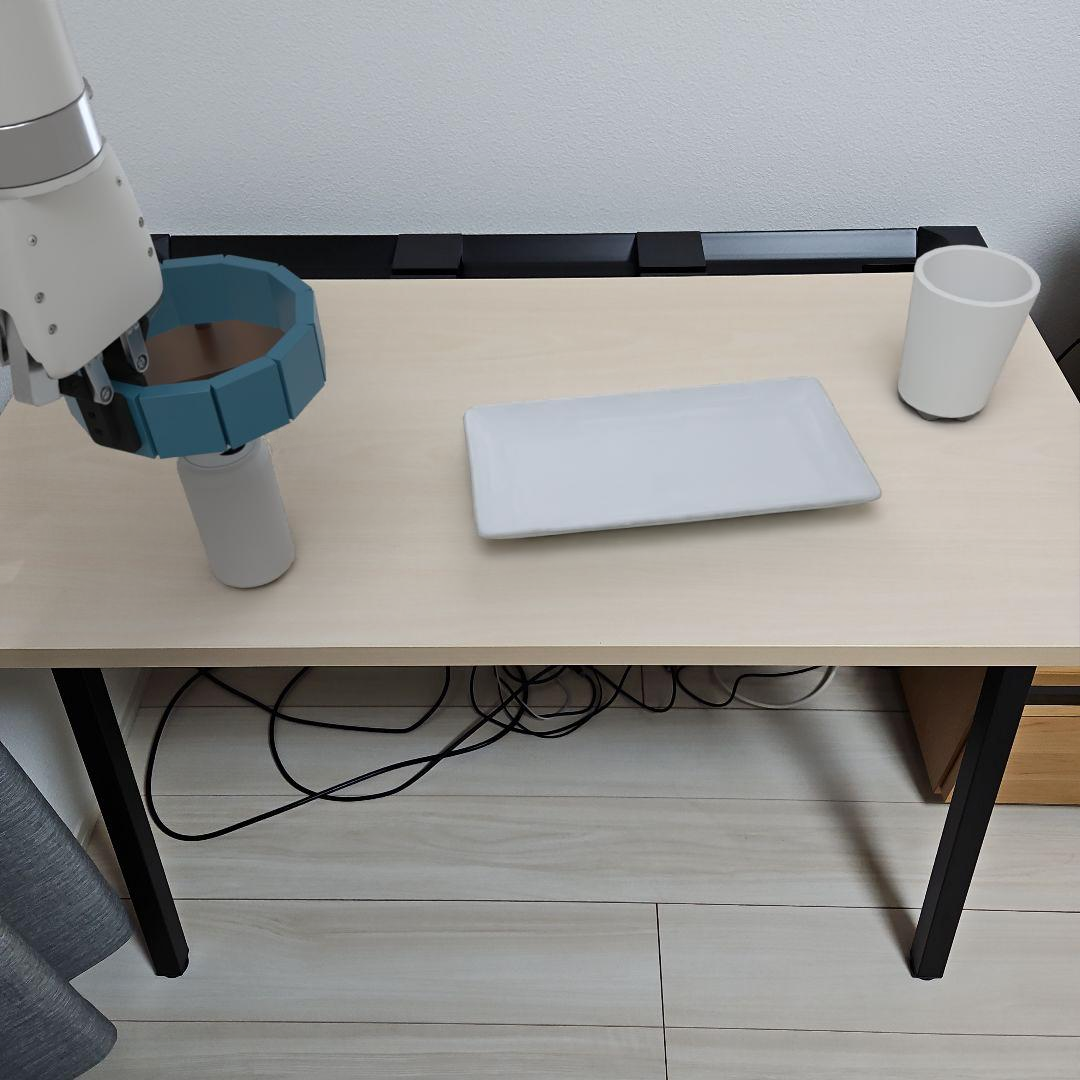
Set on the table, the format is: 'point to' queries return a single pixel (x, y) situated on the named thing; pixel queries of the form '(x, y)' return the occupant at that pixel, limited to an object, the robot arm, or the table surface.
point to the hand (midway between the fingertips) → (128, 435)
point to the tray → (660, 458)
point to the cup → (962, 327)
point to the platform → (206, 350)
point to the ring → (246, 391)
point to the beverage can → (239, 513)
